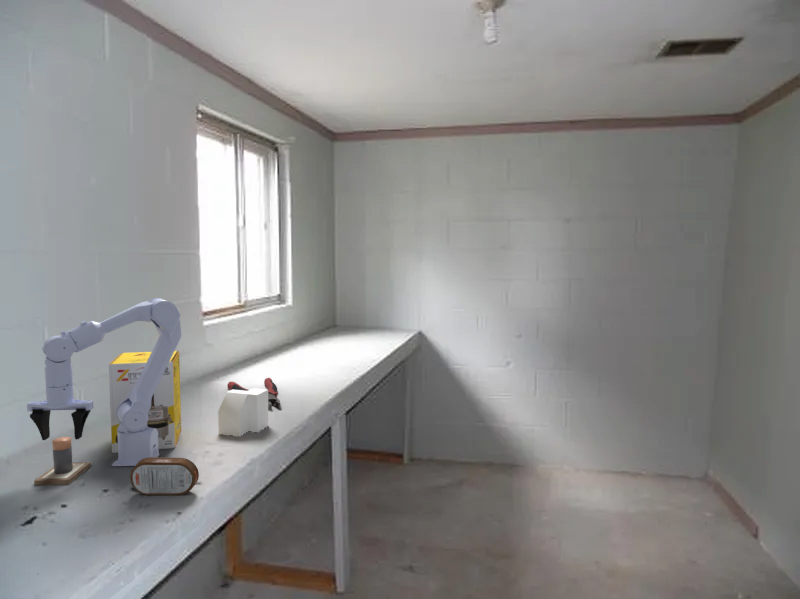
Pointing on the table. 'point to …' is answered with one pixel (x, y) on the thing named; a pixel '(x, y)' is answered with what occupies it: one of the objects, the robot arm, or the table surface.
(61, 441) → the gray and tan capsule
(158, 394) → the packaging box
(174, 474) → the tin
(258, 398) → the corner bracket
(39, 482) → the brown picture frame
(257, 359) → the table surface
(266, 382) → the pliers
